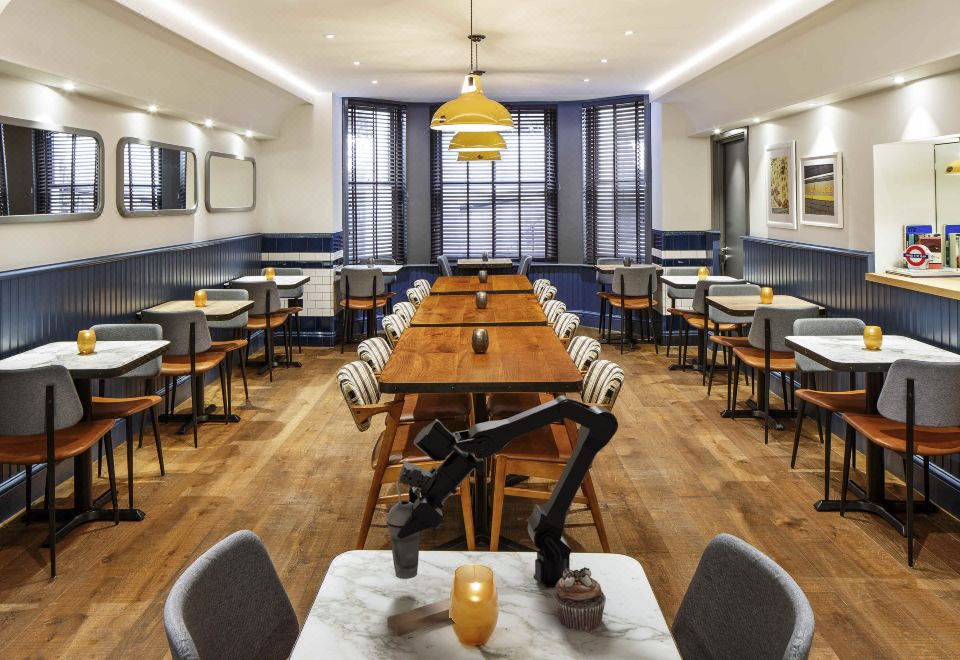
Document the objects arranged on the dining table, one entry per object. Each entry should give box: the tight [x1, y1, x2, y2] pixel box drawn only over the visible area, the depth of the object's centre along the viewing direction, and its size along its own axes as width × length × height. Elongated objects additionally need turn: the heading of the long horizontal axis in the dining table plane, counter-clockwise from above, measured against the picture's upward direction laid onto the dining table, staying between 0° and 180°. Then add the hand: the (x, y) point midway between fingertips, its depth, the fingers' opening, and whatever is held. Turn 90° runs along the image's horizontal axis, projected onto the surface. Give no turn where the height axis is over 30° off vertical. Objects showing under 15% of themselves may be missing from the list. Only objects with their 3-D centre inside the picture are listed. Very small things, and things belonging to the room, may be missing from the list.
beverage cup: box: [386, 480, 421, 580], centre depth 171 cm, size 7×7×20 cm
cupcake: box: [554, 566, 607, 632], centre depth 159 cm, size 10×10×10 cm
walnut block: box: [386, 597, 451, 636], centre depth 161 cm, size 16×4×2 cm, turn 123°
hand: (398, 530), depth 171 cm, fingers closed on beverage cup, 7 cm apart
